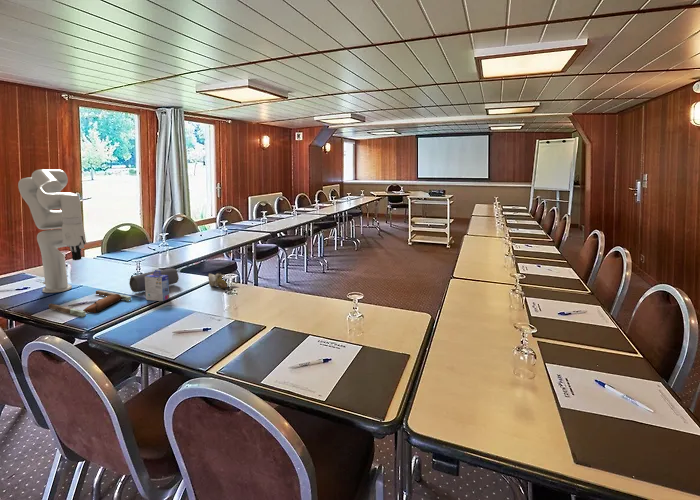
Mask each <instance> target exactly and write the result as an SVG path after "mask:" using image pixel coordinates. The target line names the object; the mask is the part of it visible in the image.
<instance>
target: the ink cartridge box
mask: <svg viewBox="0 0 700 500" xmlns="http://www.w3.org/2000/svg"><path fill="white" fill-rule="evenodd" d="M160 270H161V269H159V270H158V269H156V270H153V271H154V274H150V275H147V276H145V290H146V291H145V300H146V301H153V302H154V301H156V302H157V301H158V302H164V301H167V300H170V285H169V281H168V275H160V274H161V271H160ZM155 272H160V273H155Z"/></svg>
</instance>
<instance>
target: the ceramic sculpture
mask: <svg viewBox="0 0 700 500" xmlns="http://www.w3.org/2000/svg"><path fill="white" fill-rule="evenodd" d="M225 275H226V274H222V272H217V273H216V274H213V273H208V284H209V286H210V287H211V288H212V287H216V288H220V289H222V290H226V289H228V288H227V286H228V285H227V283H226V281H224V280H222V277H223V276H225ZM234 282H235V283H236V284H238V282H237V281H234Z"/></svg>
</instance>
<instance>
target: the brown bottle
mask: <svg viewBox="0 0 700 500" xmlns="http://www.w3.org/2000/svg"><path fill="white" fill-rule="evenodd" d="M119 294H120V293H115V294H114V295H110V296H107V297H105V296H104V297H102V298H101V299H98V300H96V301H94V303H91V304H90V305H89V306H87V307H85V308H84V309H82V311H85V313H88V312H94V313H93V314H98V313H99V312H101V311H103V310H104V309H106V308H107V307H109V306H112V305H113V304H116V303H117V302H120V300H121V301H123V300H122V297H121V295H122V294H120V295H119Z"/></svg>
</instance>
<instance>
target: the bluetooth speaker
mask: <svg viewBox="0 0 700 500" xmlns="http://www.w3.org/2000/svg"><path fill="white" fill-rule="evenodd" d="M159 270H160V271H161V274H160V275H168V281H169V286H170V285H174V284H176V283H179V282H178V281H179V278H180V277H179V274H178V271H177V270H176V269H175V268H165V269H159ZM154 271H155V270H153V271H150V272H144V273H140V274H137V275H133V276H130V278H129V288H130V290H131V292H134V293H140V292H146V290H145V276H147V275H150V274H154ZM155 273H160V272H155Z"/></svg>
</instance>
